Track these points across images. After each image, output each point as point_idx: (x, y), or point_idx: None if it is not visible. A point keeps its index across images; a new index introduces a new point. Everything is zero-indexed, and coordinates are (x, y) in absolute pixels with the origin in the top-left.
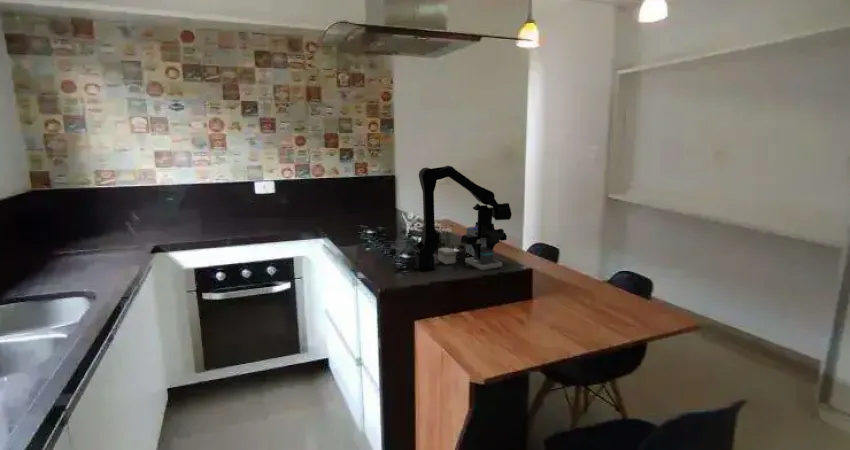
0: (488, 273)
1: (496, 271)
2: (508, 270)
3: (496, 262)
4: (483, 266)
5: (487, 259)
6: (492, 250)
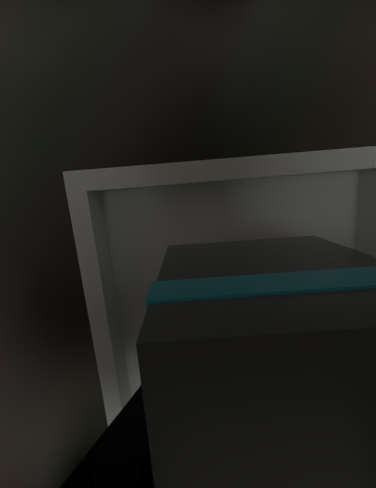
0: (365, 7)
1: (233, 44)
2: (75, 21)
3: (106, 265)
4: (369, 147)
5: (270, 252)
6: (178, 335)
